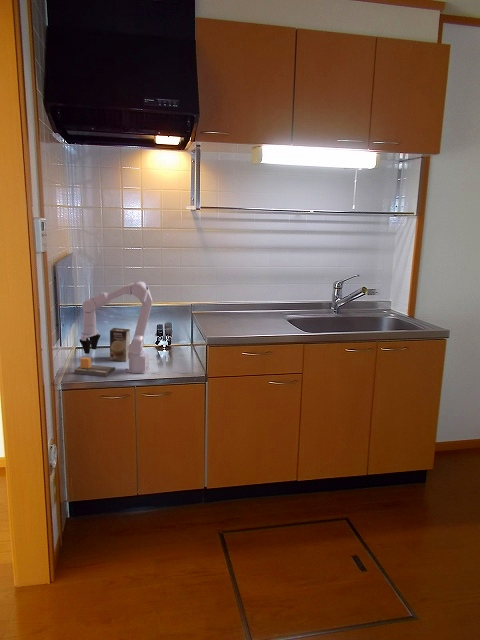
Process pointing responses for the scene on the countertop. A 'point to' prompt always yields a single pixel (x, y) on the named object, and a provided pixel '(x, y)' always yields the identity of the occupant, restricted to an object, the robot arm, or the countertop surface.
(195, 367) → the countertop surface
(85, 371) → the switch panel
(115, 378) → the countertop surface
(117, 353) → the coffee box
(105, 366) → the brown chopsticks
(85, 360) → the knob
